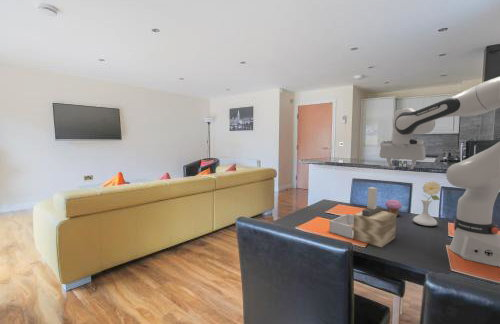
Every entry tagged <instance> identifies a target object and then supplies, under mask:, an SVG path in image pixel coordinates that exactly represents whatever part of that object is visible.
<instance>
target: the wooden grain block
mask: <svg viewBox="0 0 500 324" xmlns="http://www.w3.org/2000/svg"><path fill="white" fill-rule="evenodd" d="M353 215H354V230H353V238H352V239H354V240H355V241H359V242H363V243H366V244H369V245H373V246H376V247H379V248H383V247H384V246H386V245H388V243H390V242H391V241H393V240H394V239H396V229H397V228H396V227H397V216H396V214H394V213H389V212H388V211H384V210H380V212H378V213H376V214H374V215H371V216H369V217H368V216H363V215H362V211H359V212H356V213H354V214H353Z"/></svg>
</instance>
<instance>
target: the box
mask: <svg viewBox="0 0 500 324" xmlns="http://www.w3.org/2000/svg"><path fill="white" fill-rule="evenodd" d="M351 224H353V225H354V214H351V213H350V214H349V213H347V214H344V215H341V216H339V217H336V218H334V219H331V220H329V233H331V234H334V235H338V236H341V237H344V238H347V239H350V240H352V239H353V230H352V228H353V227H352V226H348V225H351Z"/></svg>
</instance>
